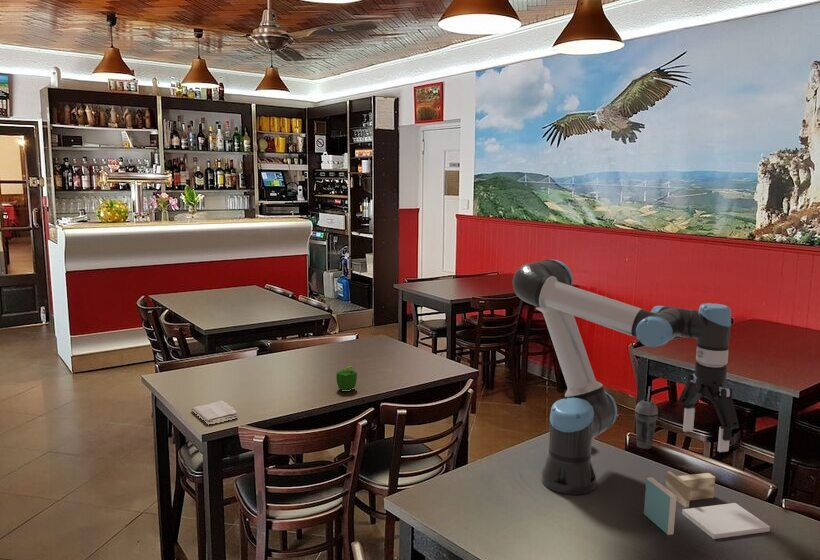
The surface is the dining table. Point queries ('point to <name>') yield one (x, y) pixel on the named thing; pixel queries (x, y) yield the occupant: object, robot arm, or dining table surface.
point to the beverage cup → (645, 422)
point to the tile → (660, 505)
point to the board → (725, 520)
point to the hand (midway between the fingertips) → (704, 440)
